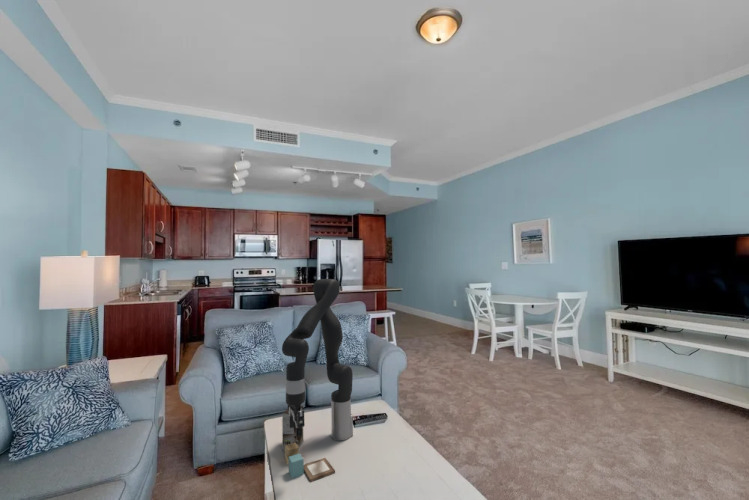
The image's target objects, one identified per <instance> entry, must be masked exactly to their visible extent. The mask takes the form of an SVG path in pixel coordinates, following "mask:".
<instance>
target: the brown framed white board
mask: <svg viewBox="0 0 749 500" xmlns="http://www.w3.org/2000/svg"><path fill="white" fill-rule="evenodd" d="M304 474H305V476H306V477H307V479H308V481H309V482H310V483H313V482H314V481H317V480H320V479H323V478H325V477H328V476H330V475H333V474H336V470H335V468H334V467H333V465H331V463H330V462H329V461H328V459H327V458H326V457H323V458H320V459H316V460H314V461H311V462H307V463H306V464H304Z"/></svg>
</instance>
